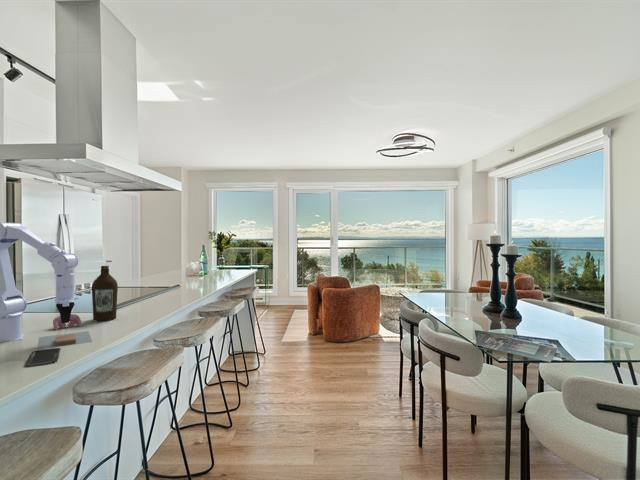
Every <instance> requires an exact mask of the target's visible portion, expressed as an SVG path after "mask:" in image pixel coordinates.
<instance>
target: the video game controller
mask: <svg viewBox="0 0 640 480" xmlns="http://www.w3.org/2000/svg"><path fill="white" fill-rule="evenodd" d="M75 324H77V327H79V328H81V327H82V325H83V323H82V320H81V317H80V316H79V315H78V314H76V313H71V315H70V320H69V323H68V324H67V323H62V322H61V317H60V315H58V316H56V317H55V318H54V319H53V320H52V326H53V329H54V331H58V330H59V329H65V328H66V327H67V325H68V327H69V328H73V327H75V326H76V325H75Z"/></svg>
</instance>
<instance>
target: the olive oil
mask: <svg viewBox="0 0 640 480" xmlns="http://www.w3.org/2000/svg"><path fill="white" fill-rule="evenodd" d="M118 288H119V285H118V281H117V280H116V279H115V278H114V277H113V276H112V275H111V274H110V268H109V265H100V274H99V275H98V276H97V277H96V278H95V279H94V280H93V282H92V284H91V299H92V319H93V321H94V322H107V321H113V320H115V319H117V311H118V309H117V308H118V290H119V289H118Z"/></svg>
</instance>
